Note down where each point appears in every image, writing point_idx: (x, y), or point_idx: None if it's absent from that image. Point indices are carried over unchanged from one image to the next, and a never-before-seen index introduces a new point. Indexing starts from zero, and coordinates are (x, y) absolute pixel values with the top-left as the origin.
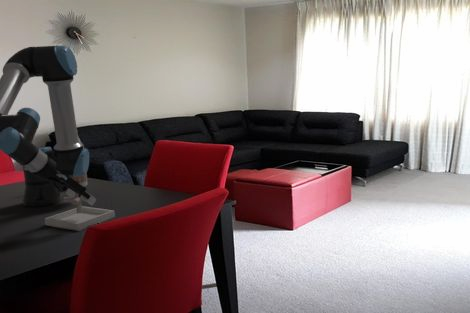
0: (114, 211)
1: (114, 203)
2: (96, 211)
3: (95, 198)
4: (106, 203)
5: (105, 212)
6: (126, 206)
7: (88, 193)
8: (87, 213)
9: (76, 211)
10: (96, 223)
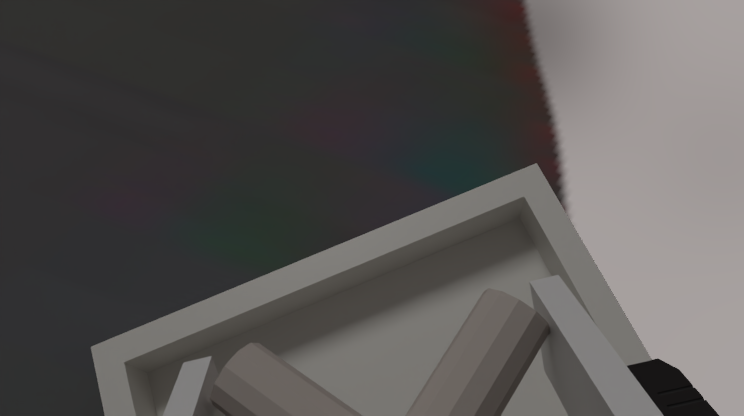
0: (537, 169)
1: (104, 57)
2: (337, 284)
3: (565, 286)
4: (43, 102)
5: (455, 234)
6: (275, 19)
7: (622, 370)
8: None
9: None
10: None
